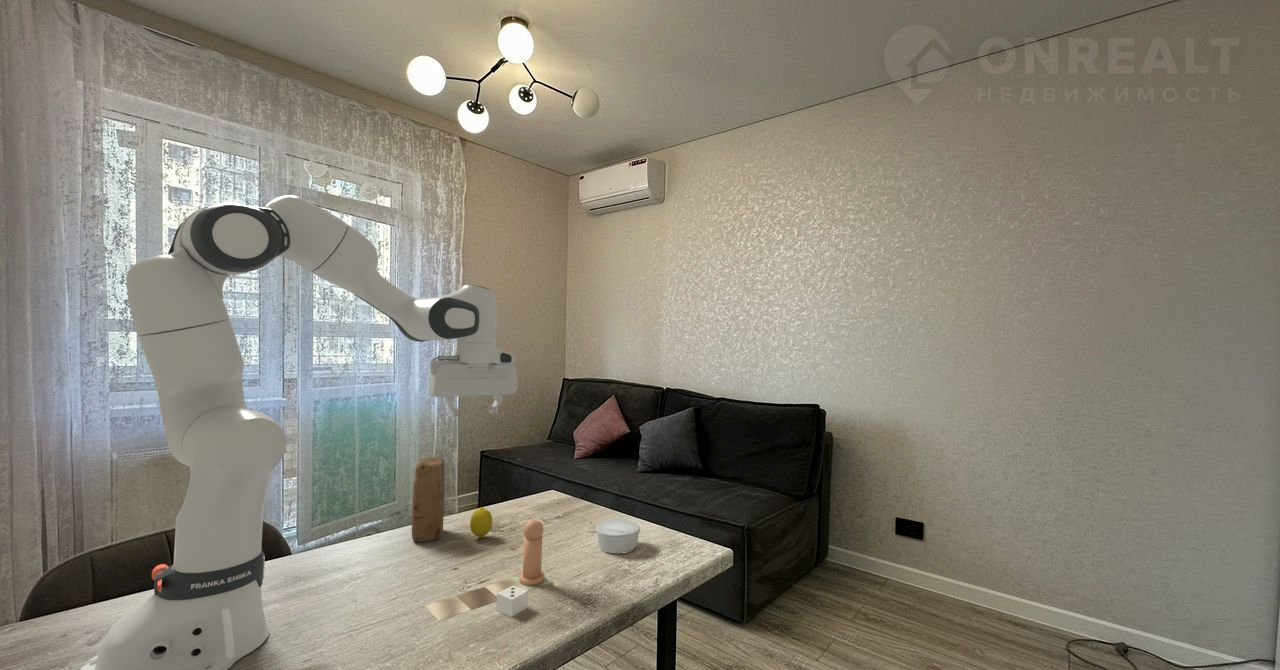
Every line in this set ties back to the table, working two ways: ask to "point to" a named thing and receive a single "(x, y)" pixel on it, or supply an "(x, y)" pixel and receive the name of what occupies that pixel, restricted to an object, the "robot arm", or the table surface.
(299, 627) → the table surface
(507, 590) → the die
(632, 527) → the ramekin
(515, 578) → the board
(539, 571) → the round-topped peg
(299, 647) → the table surface
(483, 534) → the lemon
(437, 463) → the block
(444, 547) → the table surface
